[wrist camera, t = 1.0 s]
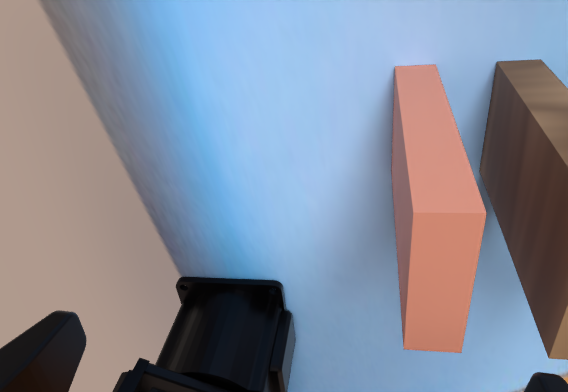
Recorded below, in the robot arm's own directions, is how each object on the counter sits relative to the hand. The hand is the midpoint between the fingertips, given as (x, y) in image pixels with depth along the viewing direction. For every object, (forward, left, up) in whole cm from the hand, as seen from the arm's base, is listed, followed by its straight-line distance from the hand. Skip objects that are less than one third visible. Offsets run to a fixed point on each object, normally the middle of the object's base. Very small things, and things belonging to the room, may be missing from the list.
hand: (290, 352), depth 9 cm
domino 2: (+7, -1, -13) cm, 15 cm away
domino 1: (+3, -1, -13) cm, 14 cm away
